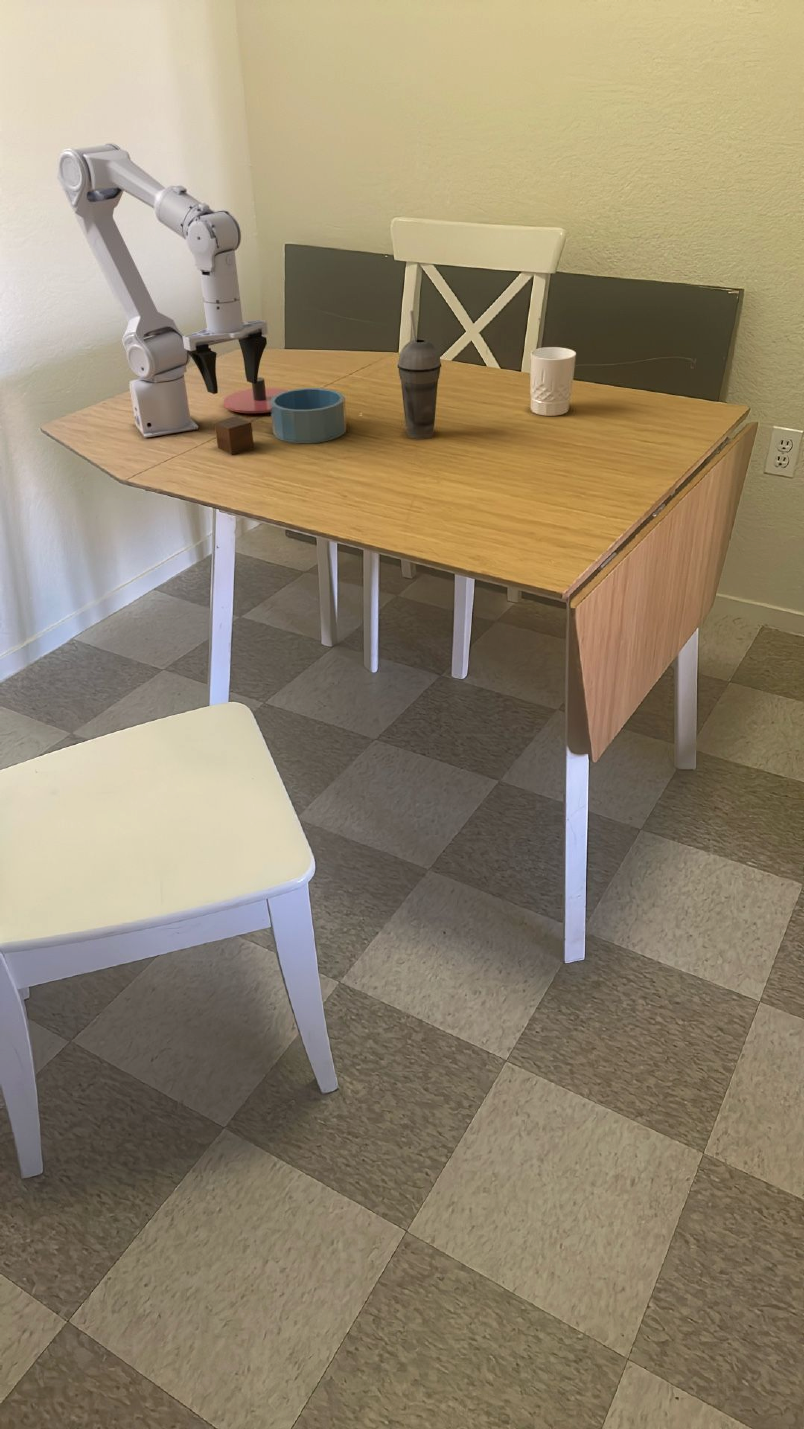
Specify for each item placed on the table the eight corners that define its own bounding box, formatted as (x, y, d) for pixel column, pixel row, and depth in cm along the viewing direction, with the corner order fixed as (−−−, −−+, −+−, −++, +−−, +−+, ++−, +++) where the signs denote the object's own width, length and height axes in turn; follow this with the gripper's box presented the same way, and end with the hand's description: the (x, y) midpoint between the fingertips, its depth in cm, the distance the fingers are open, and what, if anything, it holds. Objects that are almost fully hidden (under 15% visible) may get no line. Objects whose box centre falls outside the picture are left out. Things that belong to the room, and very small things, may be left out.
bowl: (301, 449, 162) (298, 416, 159) (259, 430, 170) (256, 399, 167) (360, 431, 169) (359, 399, 165) (317, 414, 177) (315, 383, 173)
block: (231, 454, 161) (228, 428, 158) (217, 448, 163) (214, 422, 161) (254, 448, 163) (251, 422, 160) (240, 441, 166) (236, 416, 163)
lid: (249, 421, 174) (246, 395, 171) (210, 404, 182) (206, 379, 180) (311, 404, 181) (309, 379, 178) (270, 389, 190) (267, 364, 187)
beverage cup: (437, 442, 163) (437, 317, 151) (395, 440, 164) (391, 316, 153) (444, 428, 169) (445, 306, 157) (403, 426, 170) (401, 305, 159)
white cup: (570, 403, 178) (575, 347, 172) (572, 417, 172) (577, 359, 166) (527, 403, 179) (530, 346, 173) (527, 417, 172) (530, 359, 167)
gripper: (194, 311, 146) (207, 402, 154) (274, 295, 153) (282, 382, 161) (170, 304, 150) (184, 392, 158) (249, 288, 158) (259, 374, 166)
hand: (232, 387), depth 160 cm, fingers open, 7 cm apart
